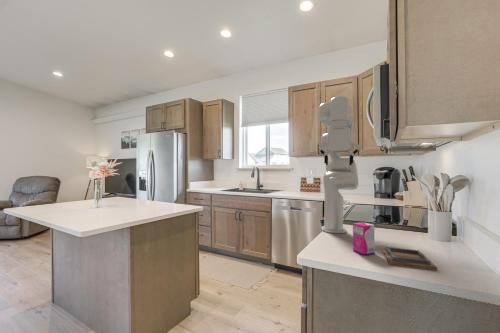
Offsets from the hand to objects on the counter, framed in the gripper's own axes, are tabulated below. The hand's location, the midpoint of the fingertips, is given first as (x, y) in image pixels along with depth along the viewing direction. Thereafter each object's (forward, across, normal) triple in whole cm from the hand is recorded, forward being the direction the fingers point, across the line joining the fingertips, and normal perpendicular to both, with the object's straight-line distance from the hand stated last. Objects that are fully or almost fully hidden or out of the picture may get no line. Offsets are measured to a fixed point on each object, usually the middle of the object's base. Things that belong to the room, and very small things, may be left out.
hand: (338, 165), depth 104 cm
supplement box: (+35, -10, +5) cm, 37 cm away
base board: (+35, -24, +8) cm, 43 cm away
